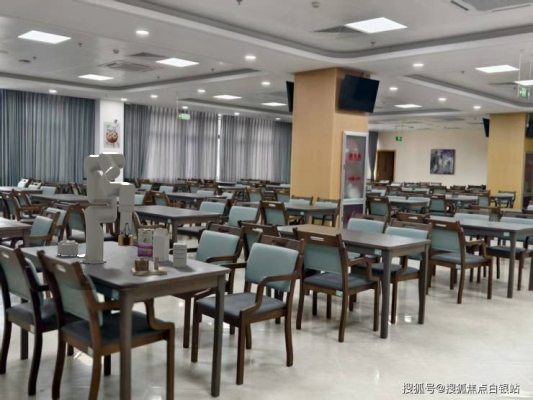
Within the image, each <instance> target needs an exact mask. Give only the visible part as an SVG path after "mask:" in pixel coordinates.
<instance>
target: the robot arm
mask: <svg viewBox="0 0 533 400" xmlns="http://www.w3.org/2000/svg"><path fill="white" fill-rule="evenodd" d="M126 164H127V163H126V157H125V155H123V153H120V152H111V151H109V152H107V151H106V152H104V151H103V152H101V153H99V154H98V155H97V154H96V155H95V154H94V155H93V154H91V155H87V156H86V157H85V158H84V160H83V169H84V172H85V173H84V174H85V176H86V195H87V197H86V198H87V201H88V202H89V203H90V204H106V205H92V206H91V205H90V206H88V207H86V208H85V210H84V220H85V253H84V254H78V255H77V256H76V259H77V260H82V263H83V262H84V264H88V263H89V264H92V265H95V264H96V265H97V264H104V263H106V262H107V259H106V258H104V245H105V244H104V240H105V237H104V236H105V232H104V228H103V227H102V226H101V224H102V223H104V224H105V223H106V224H107V223H114V222H116V220H117V217H118V212H120V219H119V231H120V232H121V235H124V237H123V245H130V237H129V235H130V232H132V219H133V217H132V215H133V213H134V212H135V200H136V197H135V196H136V185H135V184H134V183H130V182H126V181H125V182H124V181H114V180H116V179H118V178H119V176H120V175H121V169H123V168H125V166H126ZM100 171H101V172H102V174H101V173H100ZM117 204H118V205H117ZM117 207H118V208H117Z"/></svg>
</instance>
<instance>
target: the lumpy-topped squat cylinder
mask: <svg viewBox="0 0 533 400" xmlns="http://www.w3.org/2000/svg"><path fill="white" fill-rule="evenodd" d="M58 254H60V255H68V256H70V255H79V243H78V242H76V240H74V239H73V240H69V239H66V240H64V239H63V240H60V241H59V242H57V255H58ZM70 257H71V256H70Z"/></svg>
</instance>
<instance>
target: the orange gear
mask: <svg viewBox="0 0 533 400" xmlns="http://www.w3.org/2000/svg"><path fill="white" fill-rule="evenodd" d="M123 237H124V235H122V234H119V235H118V239H117V241H118V243H117V245H118V246H120V247H132V246H134V234H133V235H132V234H129V237H130V245H123Z"/></svg>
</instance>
